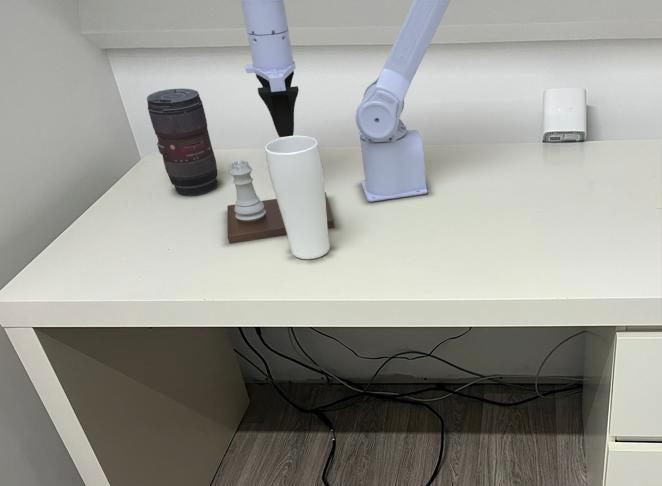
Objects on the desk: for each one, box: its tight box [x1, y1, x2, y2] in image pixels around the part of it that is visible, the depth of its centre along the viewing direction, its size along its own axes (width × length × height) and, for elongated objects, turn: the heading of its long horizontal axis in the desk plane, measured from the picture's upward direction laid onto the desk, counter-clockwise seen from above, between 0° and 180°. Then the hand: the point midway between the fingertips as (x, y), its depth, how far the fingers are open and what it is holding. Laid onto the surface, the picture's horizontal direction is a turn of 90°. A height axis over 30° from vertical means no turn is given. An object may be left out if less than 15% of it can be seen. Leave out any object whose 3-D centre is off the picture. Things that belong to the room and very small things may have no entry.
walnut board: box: [226, 191, 336, 244], centre depth 111 cm, size 15×11×1 cm
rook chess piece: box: [228, 160, 266, 222], centre depth 107 cm, size 4×4×8 cm
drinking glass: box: [264, 135, 331, 260], centre depth 98 cm, size 7×7×15 cm
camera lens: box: [146, 88, 219, 197], centre depth 118 cm, size 8×8×15 cm
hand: (284, 127), depth 113 cm, fingers open, 7 cm apart
